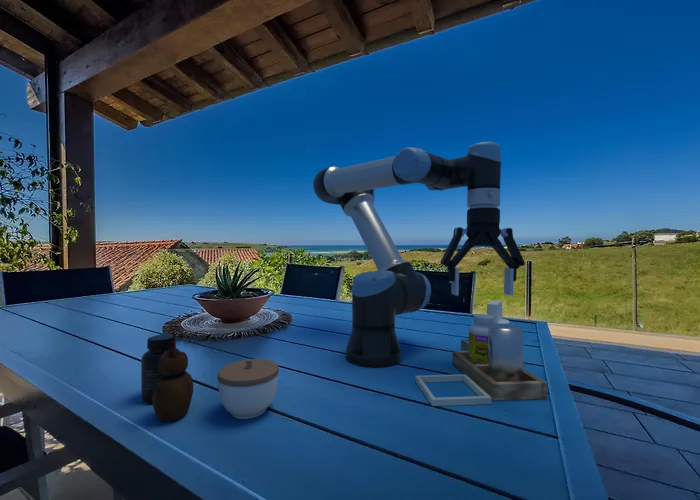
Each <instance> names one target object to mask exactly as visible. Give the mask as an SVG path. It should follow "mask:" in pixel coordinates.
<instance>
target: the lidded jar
mask: <svg viewBox="0 0 700 500" xmlns="http://www.w3.org/2000/svg"><path fill="white" fill-rule="evenodd" d="M279 372H280V366H279V364H278V363H277V362H275V361H274V360H270V359H264V358H262V359H261V358H247V359H243V360H238V361H234V362H231V363H227V364H226V365H224V366H223V367H221V368H220V369H219V370H218V371H217V380H218V383H217V384H218V386H217V387H218V395H219V398H220V402H221V404H222V406H223V407H224V409H225V410H226V411H227V412H228V413H230V414H231V416H232V417H234V418H235V419H238V420H250V419H254V418H257V417H259V416H261V415H262V414H264V413H265V412H266V411H267V409H268V407H270V405H271V404H272V403H273V401H274V399H275V397H276V395H277V391H278V384H279Z"/></svg>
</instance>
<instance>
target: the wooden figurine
mask: <svg viewBox="0 0 700 500" xmlns="http://www.w3.org/2000/svg"><path fill="white" fill-rule="evenodd" d="M175 333H176V332H175V329H173V330H172V335H173V341H172V352H168V353H166V354H164V355H162V356H161V358H160V360H159V366H158V368H159V373H160V374H161V375H162V376H161V377H159V379H158V380H157V382H156V383H155V386H154V389H153V394H152V403H153V404H152V408H153V410H154V414H155V415H156V417H157V418H158V419H159V420H161V421H162V422H171V421H175V420H176V421H177V419H180V418H182V417H183V416H184V415H185V414H187V412H188V410H189V409H190V406H191V402H192V399H193V395H194V381H193V378H192V375H191V374H190V373H189V372H188V371H187V369H188V366H189V359H188V358H189V357H188V355H187V354H186V352H184V351H182V350H179V351H176V348H177V345H176V344H177V343H176V341H177V340H176V334H175Z"/></svg>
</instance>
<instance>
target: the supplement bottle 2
mask: <svg viewBox="0 0 700 500" xmlns="http://www.w3.org/2000/svg"><path fill="white" fill-rule="evenodd" d="M493 323H494V316H491V315H487V313H486V314H485V313H483V314H482V313H476V314H474V315H473V324H472V325H470V326H469V329H468V339H469V361H470V362H472V363H473V364H488V325H489V324H493Z"/></svg>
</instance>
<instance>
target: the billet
mask: <svg viewBox="0 0 700 500" xmlns="http://www.w3.org/2000/svg"><path fill="white" fill-rule="evenodd" d="M523 369H524V328H523V326H519V325H516V324H511V323H510V324H502V323H495V324H489V325H488V376H490V377H491V378H492V379H493V380H495V381H496V382H513V381H523Z"/></svg>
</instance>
